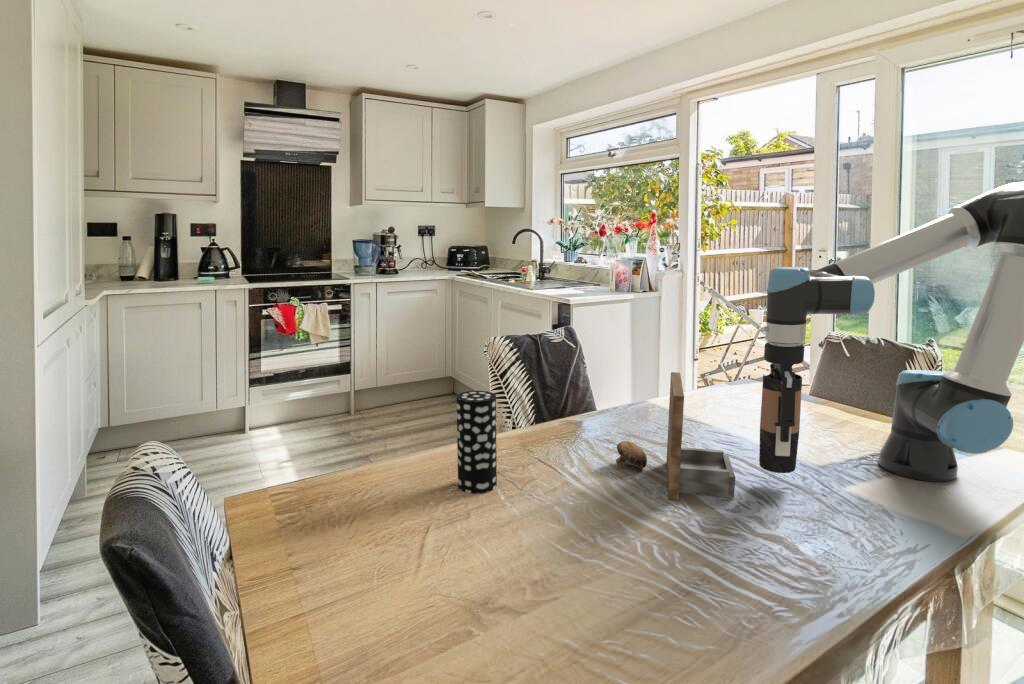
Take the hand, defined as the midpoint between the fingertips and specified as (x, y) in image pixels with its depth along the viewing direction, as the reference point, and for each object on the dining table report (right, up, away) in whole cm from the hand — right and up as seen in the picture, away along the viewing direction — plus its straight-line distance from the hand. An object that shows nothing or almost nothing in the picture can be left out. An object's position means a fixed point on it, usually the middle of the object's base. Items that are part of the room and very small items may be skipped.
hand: (778, 448), depth 131 cm
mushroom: (-29, -7, +12) cm, 32 cm away
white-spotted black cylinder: (-64, -9, +2) cm, 65 cm away
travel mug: (0, -4, +1) cm, 4 cm away
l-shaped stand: (-16, -8, +3) cm, 18 cm away
